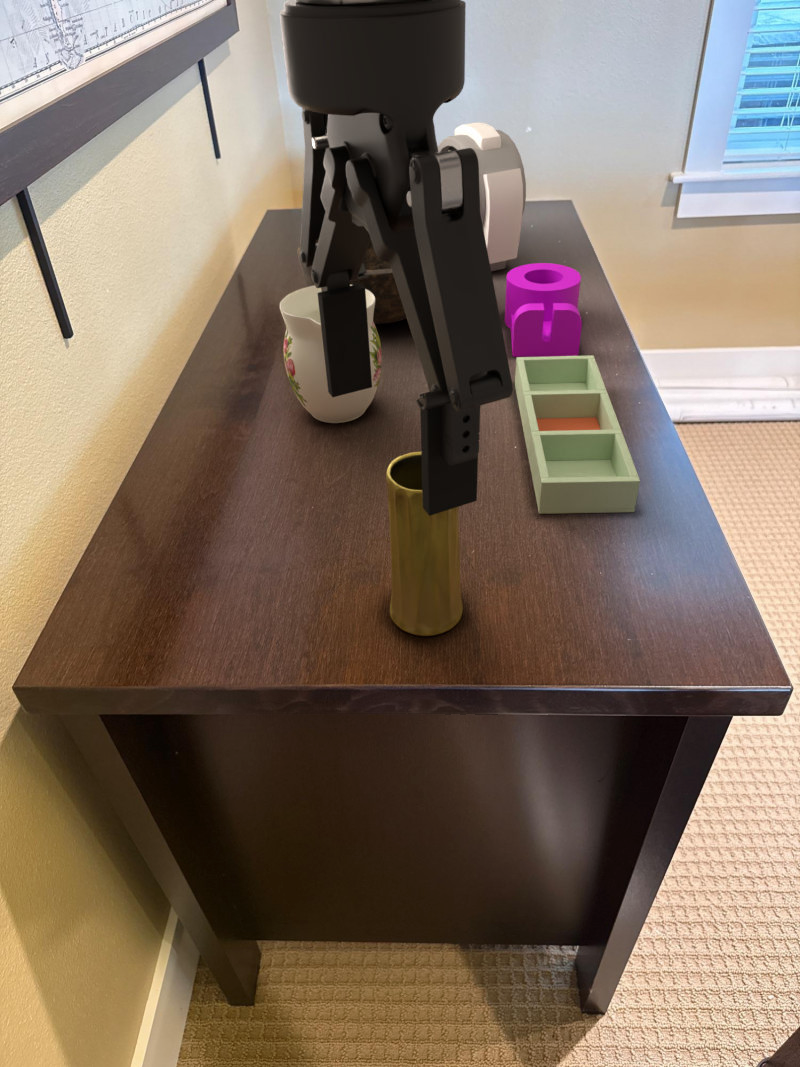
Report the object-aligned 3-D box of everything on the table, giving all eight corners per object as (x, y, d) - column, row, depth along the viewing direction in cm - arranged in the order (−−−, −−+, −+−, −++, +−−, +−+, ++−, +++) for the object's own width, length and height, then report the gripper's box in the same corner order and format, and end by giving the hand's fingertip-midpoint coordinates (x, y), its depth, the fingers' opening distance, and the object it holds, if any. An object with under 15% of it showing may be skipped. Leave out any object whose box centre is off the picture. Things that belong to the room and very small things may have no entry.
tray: (634, 512, 74) (640, 480, 72) (538, 513, 74) (541, 482, 72) (590, 383, 94) (593, 355, 92) (514, 384, 94) (516, 357, 92)
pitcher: (372, 365, 100) (364, 259, 91) (395, 438, 86) (389, 320, 77) (287, 375, 99) (271, 268, 90) (297, 450, 85) (279, 333, 76)
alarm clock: (427, 249, 132) (425, 117, 119) (471, 240, 135) (473, 110, 122) (479, 284, 119) (483, 140, 107) (526, 273, 122) (535, 132, 109)
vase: (431, 649, 61) (428, 506, 52) (374, 615, 65) (362, 475, 56) (477, 606, 65) (481, 465, 56) (420, 576, 68) (416, 438, 59)
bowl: (459, 345, 103) (459, 271, 97) (297, 350, 104) (287, 277, 98) (452, 283, 120) (453, 216, 114) (313, 287, 121) (306, 222, 115)
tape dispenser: (503, 306, 112) (505, 263, 109) (572, 305, 112) (577, 262, 108) (506, 356, 100) (508, 310, 96) (584, 356, 99) (589, 309, 95)
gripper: (204, -20, 39) (267, 366, 52) (425, 27, 21) (434, 596, 34) (344, -31, 41) (369, 342, 54) (651, 3, 23) (576, 546, 37)
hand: (394, 441), depth 44 cm, fingers open, 13 cm apart
